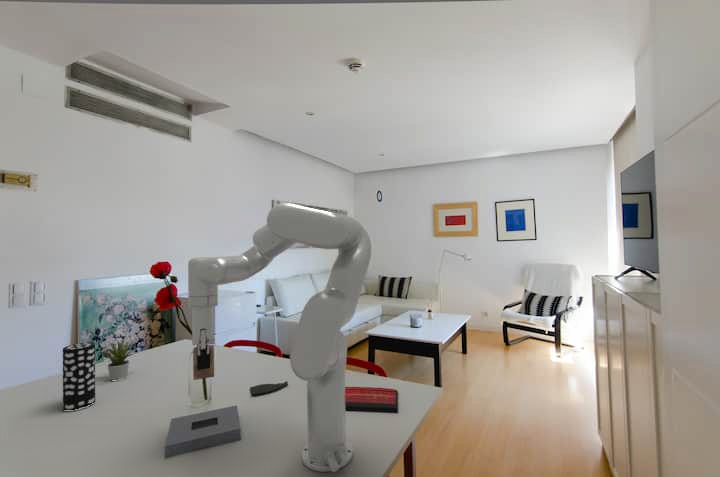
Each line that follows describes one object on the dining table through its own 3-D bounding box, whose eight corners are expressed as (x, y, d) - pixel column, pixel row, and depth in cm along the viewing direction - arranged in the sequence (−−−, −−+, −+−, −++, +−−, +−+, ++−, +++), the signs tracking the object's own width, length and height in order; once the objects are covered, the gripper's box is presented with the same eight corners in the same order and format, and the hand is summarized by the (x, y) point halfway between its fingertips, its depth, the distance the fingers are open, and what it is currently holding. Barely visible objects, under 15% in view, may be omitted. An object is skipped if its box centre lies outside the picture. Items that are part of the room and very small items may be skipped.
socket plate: (240, 439, 89) (240, 428, 89) (164, 458, 82) (164, 446, 82) (237, 415, 102) (236, 405, 102) (171, 429, 95) (171, 418, 95)
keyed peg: (193, 380, 90) (193, 350, 90) (194, 376, 93) (193, 347, 93) (214, 376, 92) (213, 347, 92) (214, 372, 95) (213, 344, 95)
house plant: (134, 368, 145) (134, 331, 145) (148, 375, 136) (148, 335, 137) (94, 379, 133) (94, 339, 133) (106, 387, 125) (106, 344, 125)
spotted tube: (97, 405, 111) (97, 345, 111) (64, 414, 105) (64, 351, 105) (93, 397, 117) (92, 341, 117) (61, 406, 111) (61, 346, 111)
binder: (397, 407, 101) (330, 404, 104) (397, 415, 101) (330, 412, 104) (398, 387, 117) (340, 385, 120) (398, 393, 117) (340, 392, 120)
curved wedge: (290, 391, 119) (290, 387, 119) (251, 399, 114) (251, 394, 114) (286, 383, 127) (286, 378, 127) (249, 389, 122) (249, 385, 122)
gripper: (190, 298, 99) (190, 359, 98) (186, 307, 84) (186, 379, 84) (217, 296, 102) (218, 355, 102) (218, 304, 87) (219, 374, 87)
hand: (204, 366), depth 93 cm, fingers closed on keyed peg, 2 cm apart
